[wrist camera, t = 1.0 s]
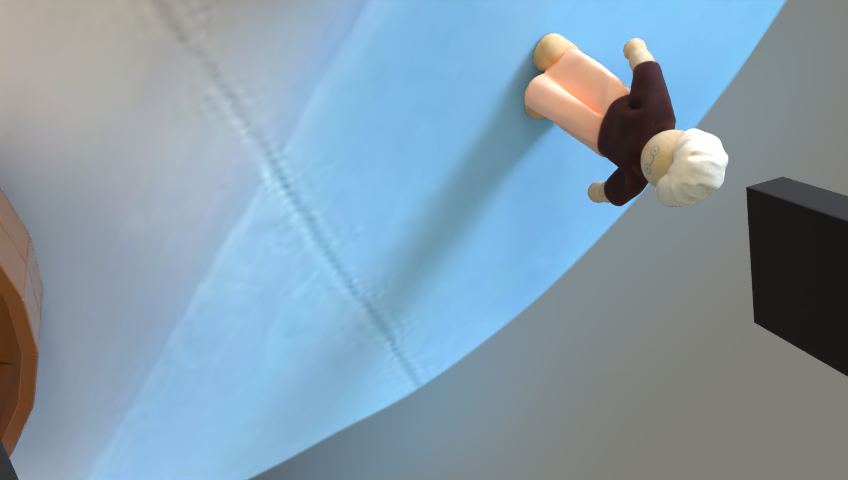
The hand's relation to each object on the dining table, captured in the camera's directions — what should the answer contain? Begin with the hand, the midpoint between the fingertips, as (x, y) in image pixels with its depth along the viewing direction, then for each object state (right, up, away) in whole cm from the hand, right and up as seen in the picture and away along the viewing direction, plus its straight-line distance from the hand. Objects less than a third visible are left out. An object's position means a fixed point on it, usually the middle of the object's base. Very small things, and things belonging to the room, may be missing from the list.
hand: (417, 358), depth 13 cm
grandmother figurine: (+7, +10, +28) cm, 30 cm away
